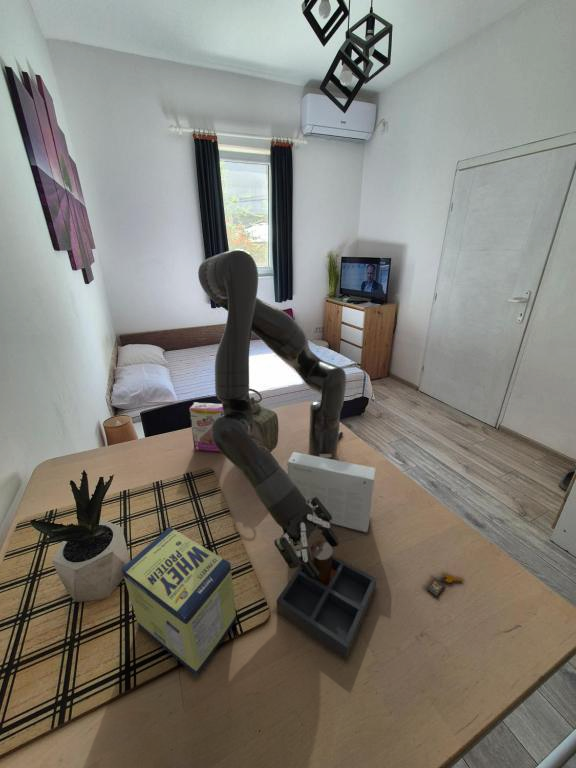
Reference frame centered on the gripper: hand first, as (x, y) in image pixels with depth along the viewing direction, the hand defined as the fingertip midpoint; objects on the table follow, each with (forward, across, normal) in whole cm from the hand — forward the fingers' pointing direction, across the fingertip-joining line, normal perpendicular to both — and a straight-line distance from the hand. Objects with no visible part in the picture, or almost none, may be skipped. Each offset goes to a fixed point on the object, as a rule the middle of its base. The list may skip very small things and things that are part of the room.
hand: (326, 560), depth 66 cm
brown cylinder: (+3, 0, +5) cm, 6 cm away
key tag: (+20, +13, -10) cm, 26 cm away
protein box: (-8, -21, +17) cm, 29 cm away
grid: (+6, -3, +3) cm, 7 cm away
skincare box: (-1, +17, +10) cm, 19 cm away
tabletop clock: (-23, +26, +32) cm, 47 cm away
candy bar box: (-34, +22, +43) cm, 59 cm away
